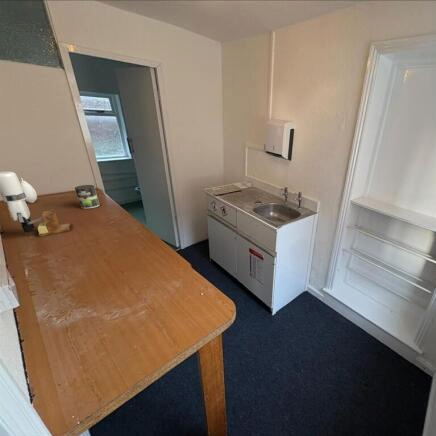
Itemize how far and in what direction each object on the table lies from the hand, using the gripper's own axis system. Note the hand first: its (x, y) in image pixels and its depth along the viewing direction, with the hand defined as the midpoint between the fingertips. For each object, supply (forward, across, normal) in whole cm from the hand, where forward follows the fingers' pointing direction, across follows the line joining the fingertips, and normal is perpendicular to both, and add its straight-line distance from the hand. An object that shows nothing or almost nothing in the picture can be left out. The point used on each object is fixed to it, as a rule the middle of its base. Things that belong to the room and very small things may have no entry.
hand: (29, 229), depth 122 cm
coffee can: (+3, -36, +25) cm, 44 cm away
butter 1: (+2, -2, +5) cm, 6 cm away
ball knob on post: (-3, 0, +5) cm, 6 cm away
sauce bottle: (+3, -66, -7) cm, 66 cm away
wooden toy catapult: (+3, 0, +9) cm, 10 cm away
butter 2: (+2, +2, +5) cm, 6 cm away
